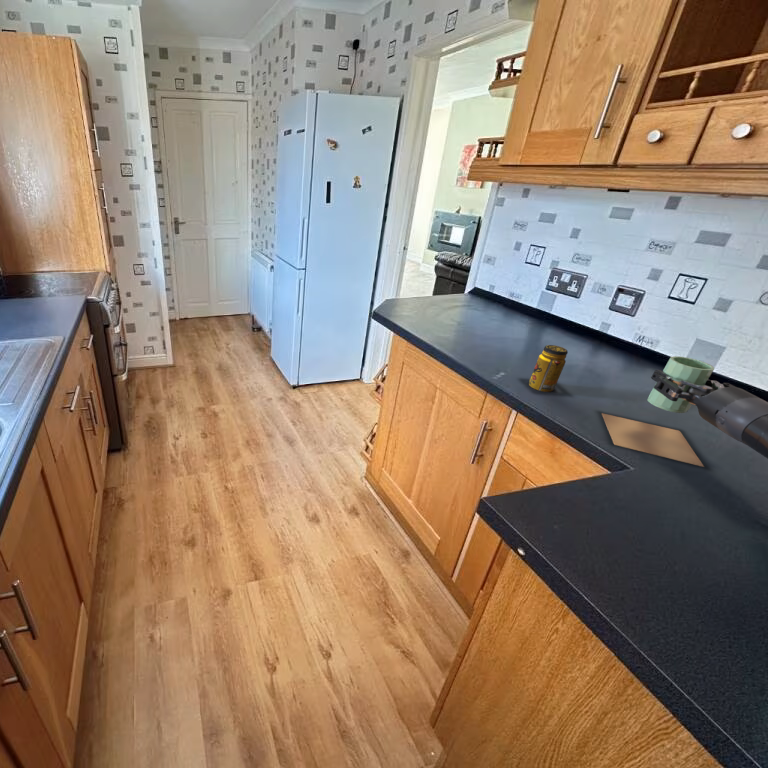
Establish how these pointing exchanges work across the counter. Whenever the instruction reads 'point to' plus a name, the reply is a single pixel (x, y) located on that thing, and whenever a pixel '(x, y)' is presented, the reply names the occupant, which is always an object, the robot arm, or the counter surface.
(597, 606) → the counter surface
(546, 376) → the condiment
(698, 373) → the cup
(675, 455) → the mat
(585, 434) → the counter surface
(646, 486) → the counter surface
